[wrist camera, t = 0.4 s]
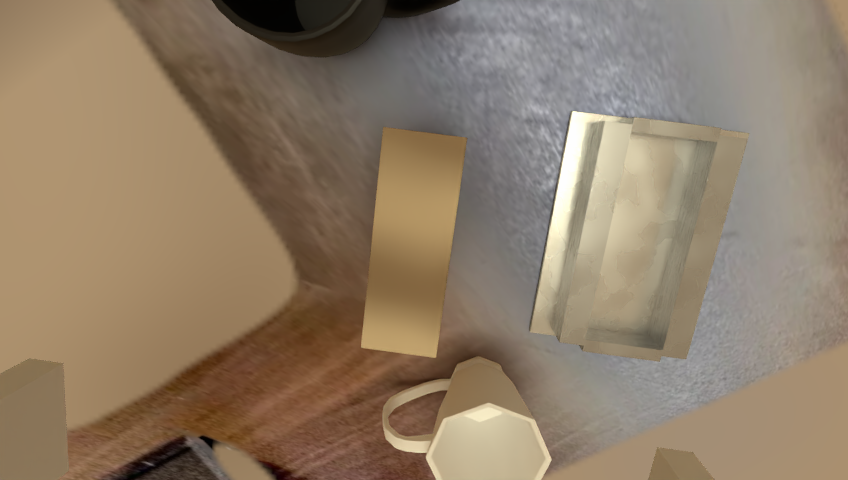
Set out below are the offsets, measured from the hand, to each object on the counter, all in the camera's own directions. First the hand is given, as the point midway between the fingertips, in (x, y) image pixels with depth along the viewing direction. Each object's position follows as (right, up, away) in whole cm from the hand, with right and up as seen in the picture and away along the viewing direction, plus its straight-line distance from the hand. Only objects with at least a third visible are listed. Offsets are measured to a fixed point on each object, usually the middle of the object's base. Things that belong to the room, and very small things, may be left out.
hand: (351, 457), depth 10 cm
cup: (+4, -6, +23) cm, 24 cm away
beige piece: (+15, +5, +20) cm, 26 cm away
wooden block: (+2, +7, +20) cm, 22 cm away
